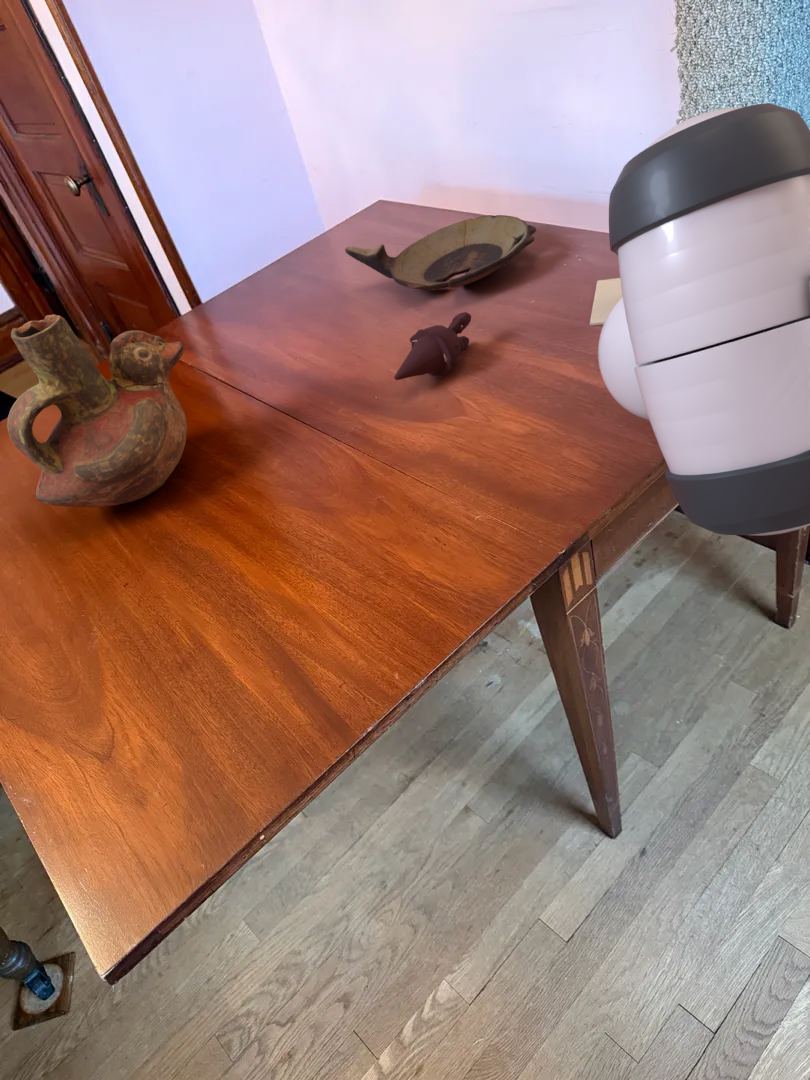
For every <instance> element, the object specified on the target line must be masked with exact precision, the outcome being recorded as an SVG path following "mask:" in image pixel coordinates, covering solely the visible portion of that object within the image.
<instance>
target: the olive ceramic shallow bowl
mask: <svg viewBox="0 0 810 1080" xmlns="http://www.w3.org/2000/svg"><path fill="white" fill-rule="evenodd" d="M536 231H537V227H536V226H534V225H531V224H528V223H527V221H525V220H523V219H521V218H519V217H515V216H513V215H505V214H504V215H503V214H497V215H491V214H490V215H482V216H478V217H476V218H468V219H464V220H462V221H459V222H456V223H453V224H450V225H446V226H444V227H442V228H440V229H437V230H435V231H434V232H431V233H430V234H427V235H425V236H424V237H422V238H420V239H419V240H417V241H414V242H413V243H411V244H410V245H408V246H407V247H406V248H405V249H403V250H402V251H401V252H400V253H399V254H397V256H394V257H393V256H390V255H388V253H387V250H386V248H385V245H384V244H383V243H382V244H380V245H378V246H376V247H373V248H361V247H355V246H347V247H345V249H344V251H345V254H346V255H348V256H349V257H351V258H353V259H354V260H356V261H358V262H360V263H362V264H364V265H365V266H367V267H369V268H371V269H372V270H374V271H376V272H378V273H379V274H381V275H383V276H385V277H386V278H389V279H393V281H394V282H395V283H396V284H398V285H400V286H401V287H405V288H410V289H414V290H415V289H416V290H440V289H445V288H453V289H455V288H458V287H462V286H465V285H469V284H471V283H474V282H476V281H478V280H482V279H483V278H485V277H487V276H489V275H490V274H492V273H494V272H495V271H497V270H498V269H500V268H502V266H504V265H505V264H507V263H508V262H509V261H511V260H512V259H513V258H515V257H516V256H517V255H519V253H520V252H521V251H522V250H524V249H525V248H526V247H527V246H529V245H531V244H533V242H534V241H535V237H534V236H533V235H534V234H535V233H536ZM466 271H467V272H466ZM462 272H466V273H465V274H463V275H460V276H458V277H453V278H451V279H449V277H451V276H452V275H455V274H459V273H462ZM447 279H449V280H448V281H445V280H447Z"/></svg>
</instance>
